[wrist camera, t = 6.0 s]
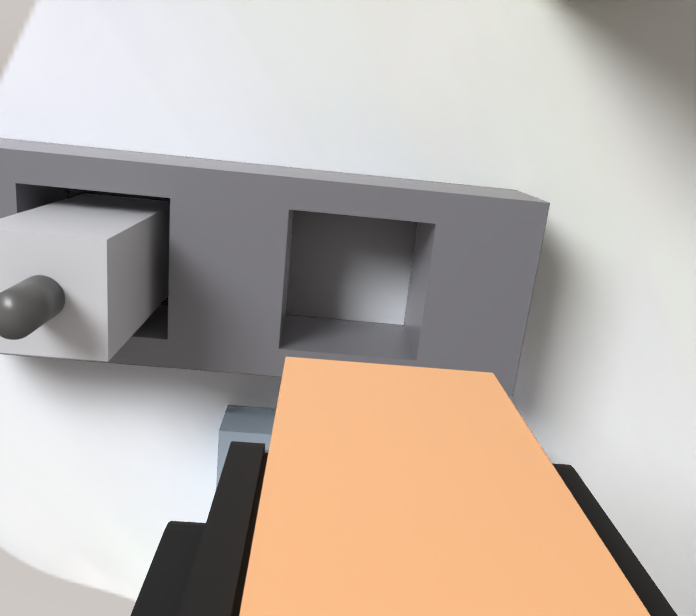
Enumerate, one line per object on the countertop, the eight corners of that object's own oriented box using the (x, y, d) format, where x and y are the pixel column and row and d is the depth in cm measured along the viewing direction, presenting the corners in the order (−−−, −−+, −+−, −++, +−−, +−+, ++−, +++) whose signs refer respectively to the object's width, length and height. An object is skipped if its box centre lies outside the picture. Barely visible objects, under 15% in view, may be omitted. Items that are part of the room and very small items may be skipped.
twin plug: (176, 202, 27) (81, 253, 17) (175, 288, 29) (84, 387, 18) (84, 193, 27) (-70, 239, 17) (86, 280, 28) (-58, 376, 18)
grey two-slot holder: (515, 190, 28) (550, 202, 23) (486, 355, 30) (512, 395, 26) (-36, 134, 26) (-108, 137, 22) (-23, 312, 29) (-85, 347, 24)
